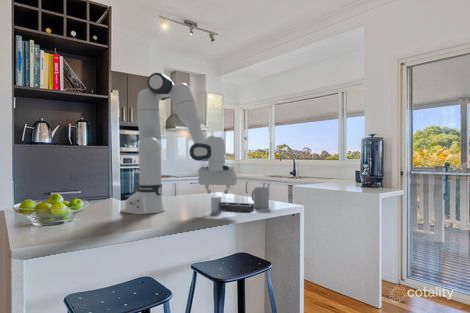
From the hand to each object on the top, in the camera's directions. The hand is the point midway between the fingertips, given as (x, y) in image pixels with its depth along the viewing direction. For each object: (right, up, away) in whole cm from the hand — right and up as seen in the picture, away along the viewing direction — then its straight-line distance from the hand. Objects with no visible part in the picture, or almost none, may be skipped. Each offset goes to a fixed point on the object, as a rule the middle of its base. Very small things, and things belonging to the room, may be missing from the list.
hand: (217, 193), depth 155 cm
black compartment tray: (+8, -10, +8) cm, 15 cm away
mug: (+23, -10, +16) cm, 30 cm away
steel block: (-1, -10, 0) cm, 10 cm away
